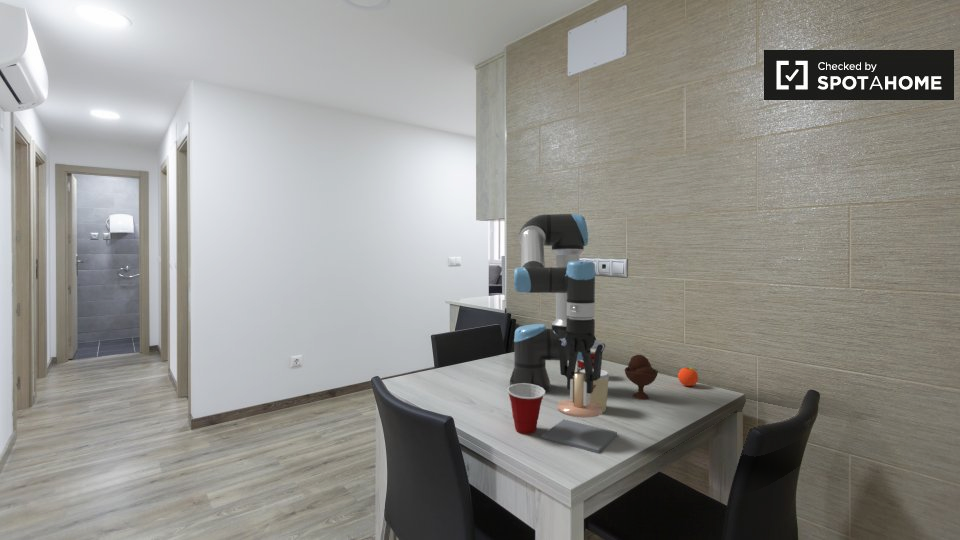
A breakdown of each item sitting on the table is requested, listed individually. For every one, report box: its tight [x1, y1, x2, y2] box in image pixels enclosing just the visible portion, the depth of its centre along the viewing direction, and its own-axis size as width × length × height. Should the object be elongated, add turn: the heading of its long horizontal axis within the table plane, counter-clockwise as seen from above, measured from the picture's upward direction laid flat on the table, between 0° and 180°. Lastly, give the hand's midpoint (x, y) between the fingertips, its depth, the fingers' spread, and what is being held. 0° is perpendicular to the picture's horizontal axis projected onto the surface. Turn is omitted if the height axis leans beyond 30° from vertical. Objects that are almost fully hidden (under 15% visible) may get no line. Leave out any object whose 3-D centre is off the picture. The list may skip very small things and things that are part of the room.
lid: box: [557, 371, 603, 419], centre depth 122 cm, size 12×12×10 cm
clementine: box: [677, 366, 699, 387], centre depth 169 cm, size 8×7×7 cm
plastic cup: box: [506, 383, 546, 435], centre depth 127 cm, size 11×11×12 cm
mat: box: [541, 419, 618, 454], centre depth 123 cm, size 16×14×1 cm
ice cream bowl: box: [624, 354, 659, 400], centre depth 156 cm, size 11×11×15 cm
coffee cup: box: [580, 369, 610, 413], centre depth 144 cm, size 9×9×12 cm
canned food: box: [576, 348, 596, 372], centre depth 181 cm, size 8×8×11 cm
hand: (579, 402), depth 122 cm, fingers closed on lid, 3 cm apart
